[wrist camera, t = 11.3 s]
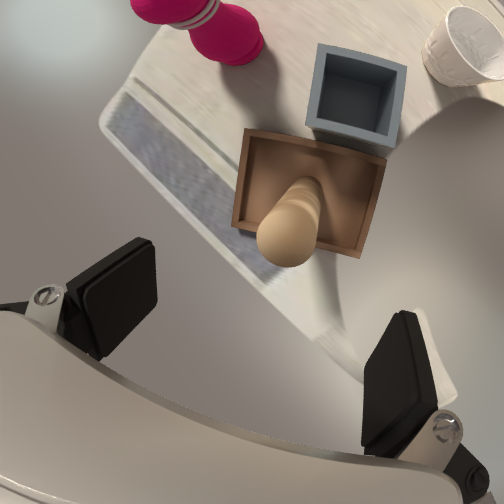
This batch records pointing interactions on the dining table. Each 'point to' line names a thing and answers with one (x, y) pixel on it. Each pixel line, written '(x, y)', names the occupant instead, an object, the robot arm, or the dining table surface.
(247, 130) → the tray
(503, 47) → the white cup
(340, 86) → the grey hollow box
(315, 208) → the dowel
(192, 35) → the pepper mill
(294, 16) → the dining table surface
